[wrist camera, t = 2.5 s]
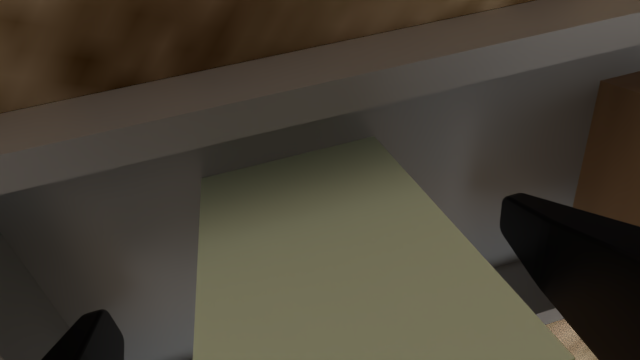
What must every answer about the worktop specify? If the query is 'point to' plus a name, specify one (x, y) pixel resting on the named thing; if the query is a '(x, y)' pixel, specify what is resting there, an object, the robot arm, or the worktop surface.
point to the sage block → (348, 269)
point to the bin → (289, 140)
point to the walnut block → (613, 153)
